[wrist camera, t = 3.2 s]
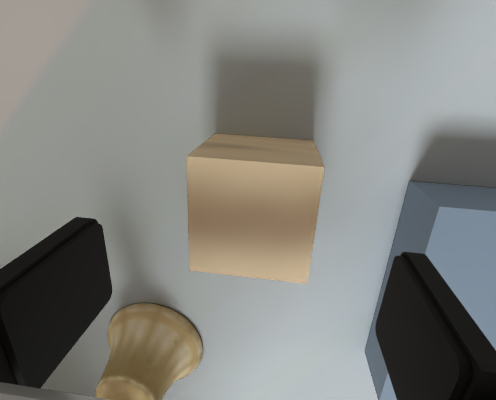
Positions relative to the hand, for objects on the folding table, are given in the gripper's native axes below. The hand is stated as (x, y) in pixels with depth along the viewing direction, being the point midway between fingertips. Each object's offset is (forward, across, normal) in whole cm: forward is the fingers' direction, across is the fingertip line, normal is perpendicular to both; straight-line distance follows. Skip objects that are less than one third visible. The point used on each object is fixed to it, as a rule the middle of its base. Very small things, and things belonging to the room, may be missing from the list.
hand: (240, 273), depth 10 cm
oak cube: (+11, 0, +1) cm, 11 cm away
